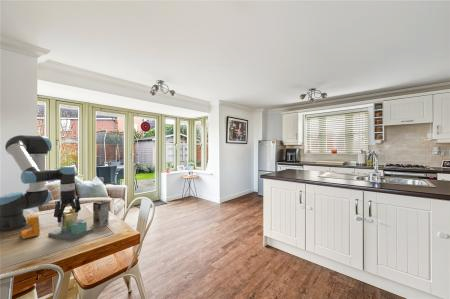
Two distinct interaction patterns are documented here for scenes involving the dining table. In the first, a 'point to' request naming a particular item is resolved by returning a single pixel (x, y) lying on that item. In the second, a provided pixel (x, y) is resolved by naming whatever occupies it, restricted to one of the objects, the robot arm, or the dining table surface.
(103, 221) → the coffee box
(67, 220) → the sleeve
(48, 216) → the dining table surface
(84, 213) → the dining table surface
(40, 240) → the dining table surface
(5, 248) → the dining table surface
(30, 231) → the bracket
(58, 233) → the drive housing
